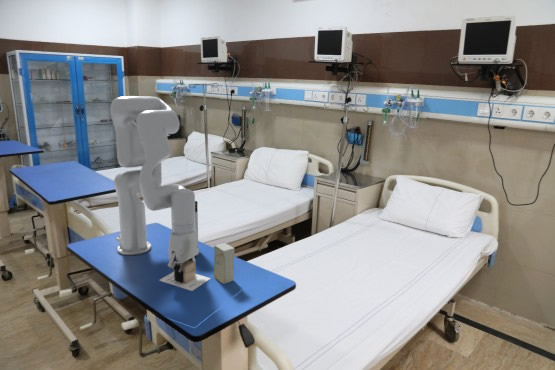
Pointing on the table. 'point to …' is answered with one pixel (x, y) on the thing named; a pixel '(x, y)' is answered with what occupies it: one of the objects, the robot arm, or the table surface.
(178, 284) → the letter
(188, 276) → the block
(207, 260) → the table surface
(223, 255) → the skincare box
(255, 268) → the table surface
